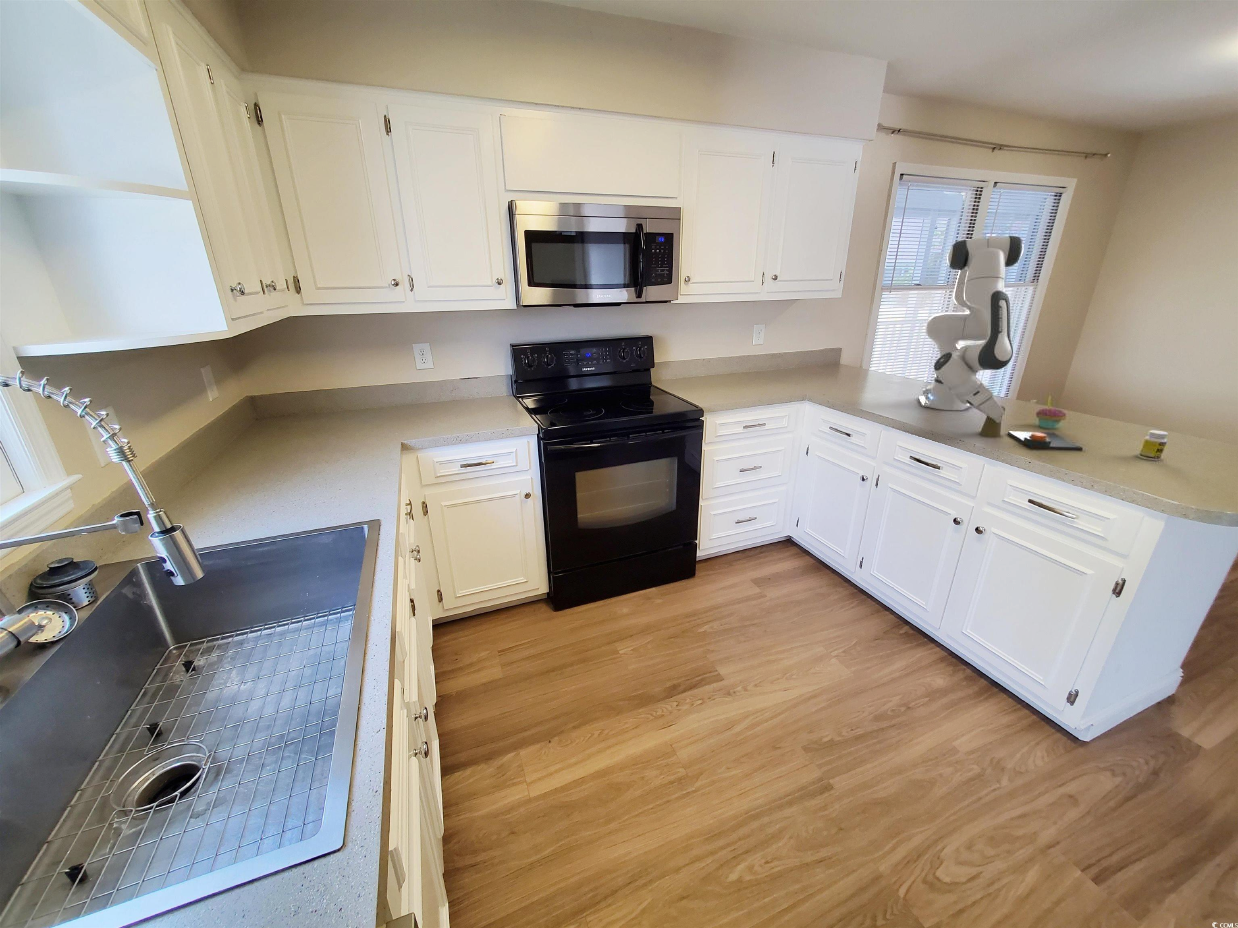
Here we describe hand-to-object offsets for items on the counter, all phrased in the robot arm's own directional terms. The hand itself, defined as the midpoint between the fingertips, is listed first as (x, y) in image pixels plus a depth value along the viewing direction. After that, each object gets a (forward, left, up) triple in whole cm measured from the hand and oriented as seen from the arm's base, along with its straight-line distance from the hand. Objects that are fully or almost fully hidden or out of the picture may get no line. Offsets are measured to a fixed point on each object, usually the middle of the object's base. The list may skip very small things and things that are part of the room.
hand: (995, 419), depth 175 cm
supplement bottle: (+20, +34, -6) cm, 40 cm away
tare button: (+12, +8, -3) cm, 15 cm away
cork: (0, -1, -6) cm, 6 cm away
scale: (+7, +12, -6) cm, 15 cm away
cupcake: (-12, +23, -6) cm, 27 cm away
